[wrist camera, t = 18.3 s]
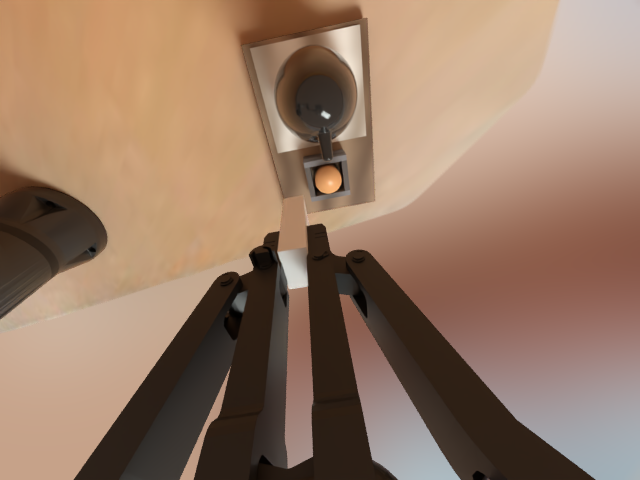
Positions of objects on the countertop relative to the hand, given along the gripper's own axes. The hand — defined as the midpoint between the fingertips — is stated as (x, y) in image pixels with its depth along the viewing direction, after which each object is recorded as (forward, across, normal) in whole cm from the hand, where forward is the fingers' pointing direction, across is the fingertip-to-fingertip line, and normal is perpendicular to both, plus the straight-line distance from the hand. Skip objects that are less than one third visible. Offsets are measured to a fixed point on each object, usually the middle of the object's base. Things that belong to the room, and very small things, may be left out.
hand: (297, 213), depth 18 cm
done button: (+21, +4, -5) cm, 22 cm away
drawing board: (+25, +4, +1) cm, 25 cm away
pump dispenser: (+23, +4, +6) cm, 24 cm away
